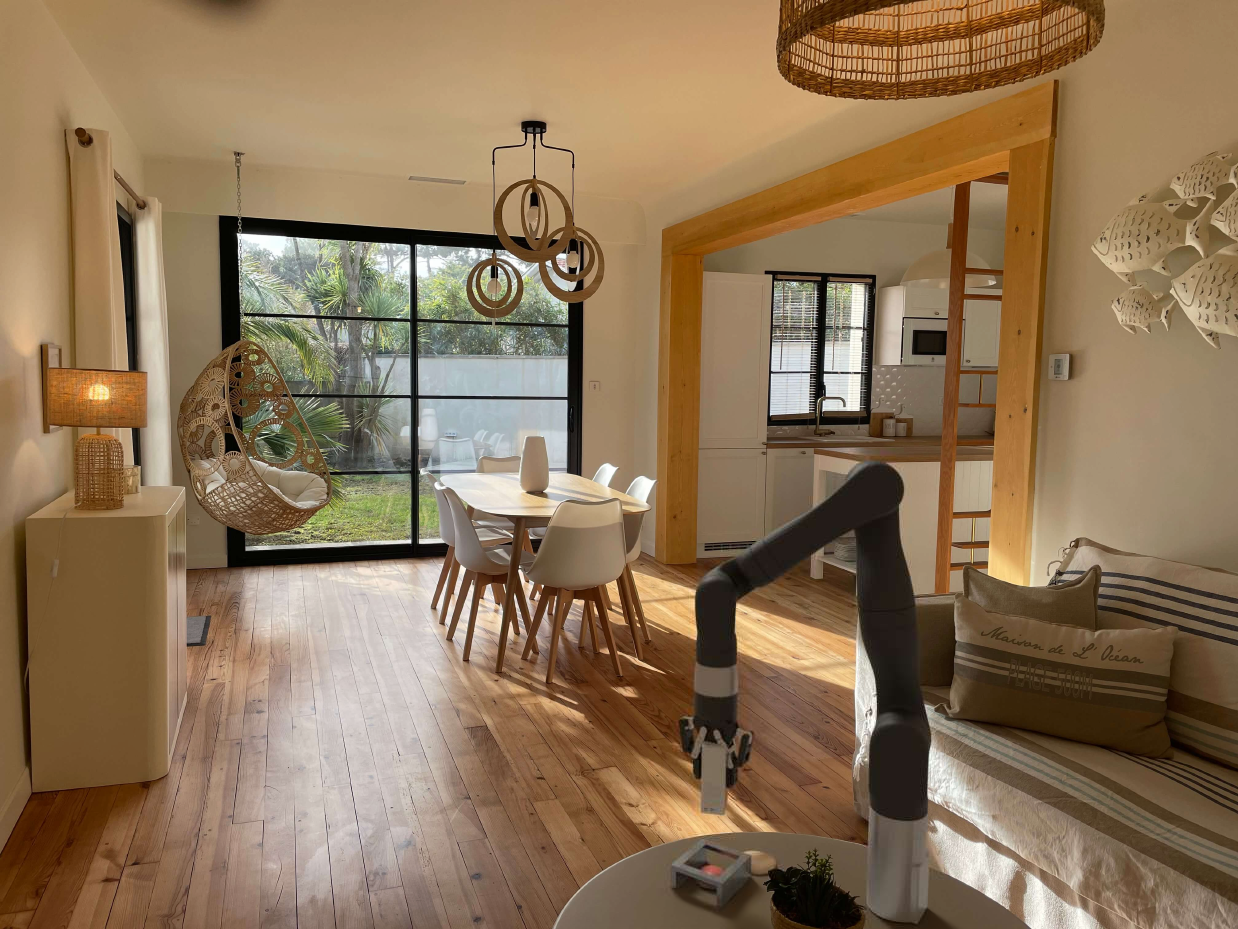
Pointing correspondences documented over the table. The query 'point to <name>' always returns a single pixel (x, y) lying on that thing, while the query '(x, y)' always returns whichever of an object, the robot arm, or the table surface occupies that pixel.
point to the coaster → (761, 862)
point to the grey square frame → (725, 882)
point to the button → (712, 870)
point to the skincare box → (713, 779)
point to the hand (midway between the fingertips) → (714, 781)
